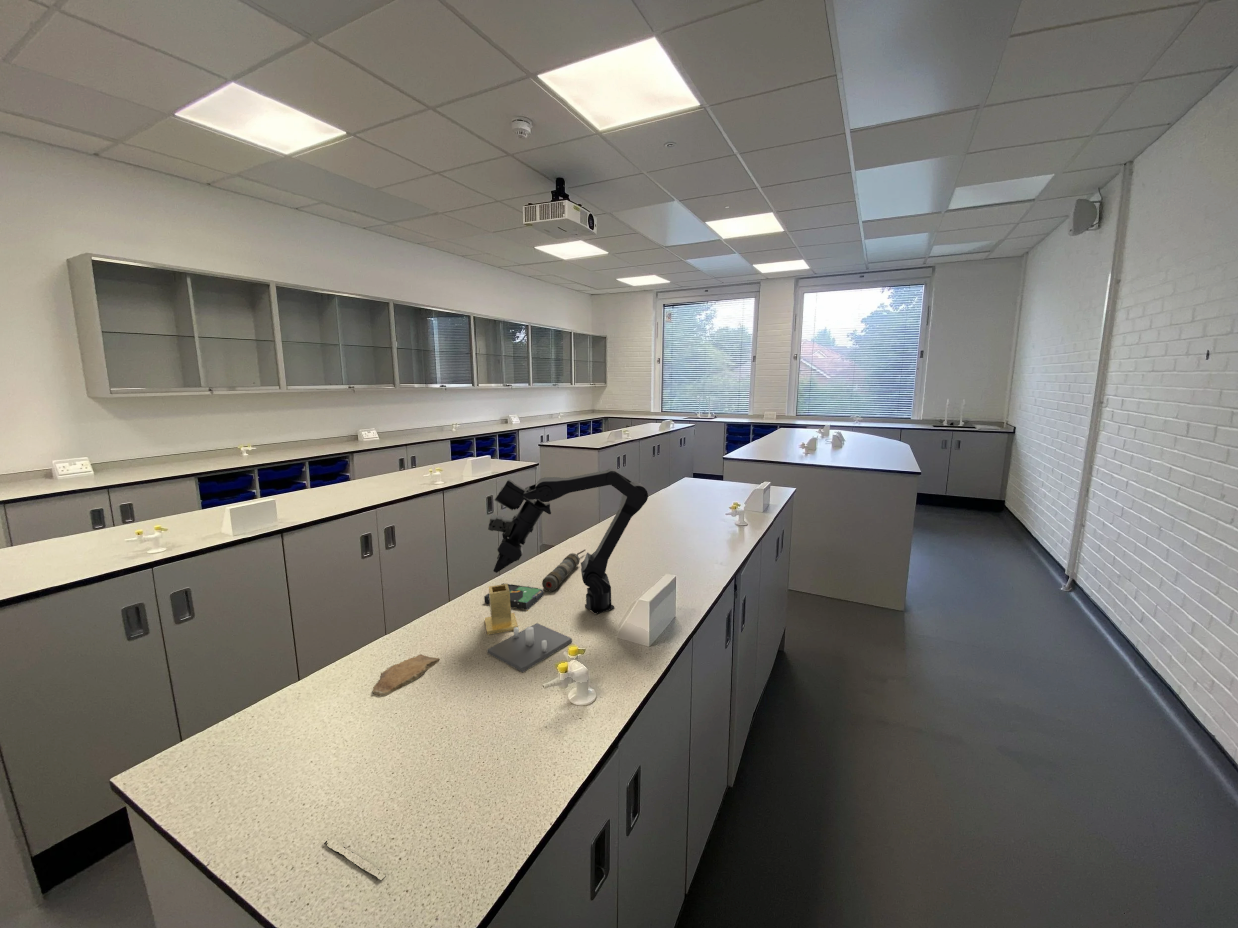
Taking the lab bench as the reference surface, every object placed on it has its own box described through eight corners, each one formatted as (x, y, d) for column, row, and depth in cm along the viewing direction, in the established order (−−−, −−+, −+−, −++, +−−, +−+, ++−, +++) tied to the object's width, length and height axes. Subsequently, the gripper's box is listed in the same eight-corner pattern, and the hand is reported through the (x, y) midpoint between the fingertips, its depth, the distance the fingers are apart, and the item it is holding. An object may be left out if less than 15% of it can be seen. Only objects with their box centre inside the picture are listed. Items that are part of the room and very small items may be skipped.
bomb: (590, 555, 181) (590, 542, 180) (556, 592, 149) (555, 577, 148) (578, 554, 183) (577, 541, 182) (541, 591, 151) (541, 576, 150)
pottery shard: (445, 664, 112) (445, 658, 112) (380, 701, 100) (379, 693, 99) (426, 654, 117) (425, 648, 116) (361, 688, 104) (360, 681, 104)
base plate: (537, 626, 128) (536, 609, 128) (571, 641, 120) (571, 623, 120) (487, 652, 116) (486, 633, 115) (522, 672, 108) (521, 651, 107)
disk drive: (484, 605, 143) (527, 611, 138) (483, 596, 142) (527, 602, 137) (503, 591, 152) (544, 596, 148) (502, 582, 152) (544, 587, 147)
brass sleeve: (514, 615, 135) (512, 580, 133) (518, 629, 127) (515, 592, 125) (485, 620, 132) (482, 585, 130) (487, 634, 125) (484, 597, 123)
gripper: (504, 496, 139) (476, 540, 140) (497, 513, 120) (464, 564, 121) (537, 515, 141) (509, 558, 142) (535, 534, 123) (503, 584, 124)
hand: (496, 565), depth 132 cm, fingers open, 9 cm apart
